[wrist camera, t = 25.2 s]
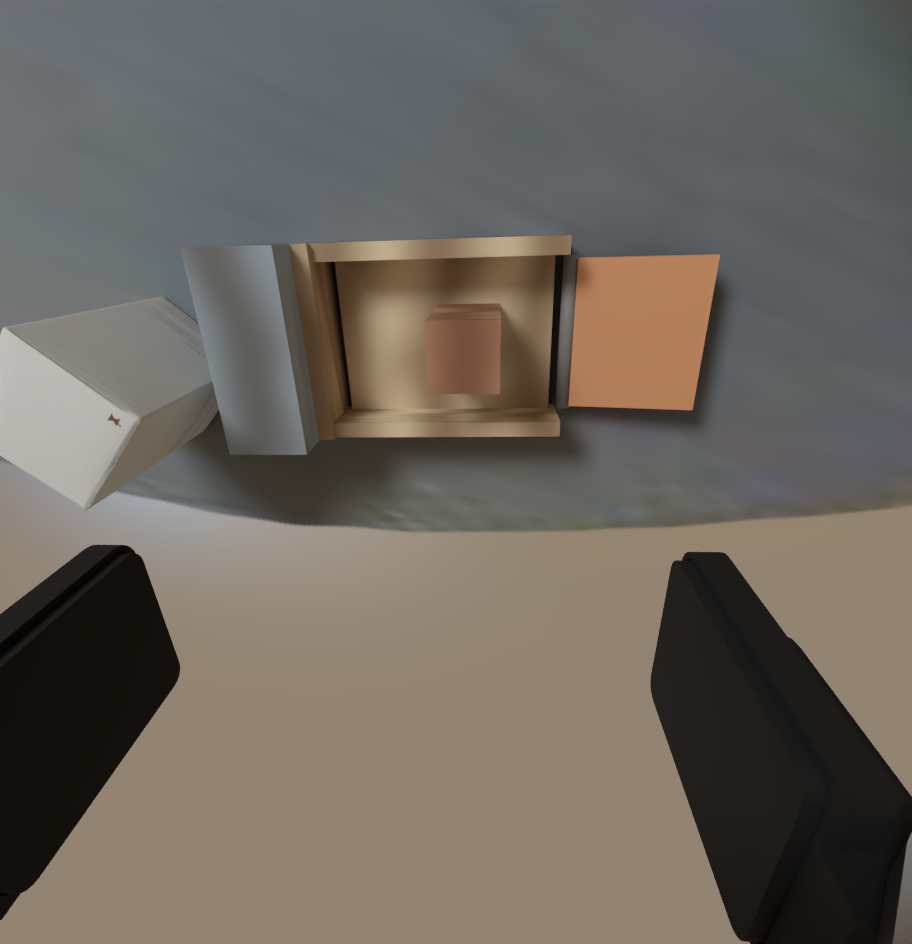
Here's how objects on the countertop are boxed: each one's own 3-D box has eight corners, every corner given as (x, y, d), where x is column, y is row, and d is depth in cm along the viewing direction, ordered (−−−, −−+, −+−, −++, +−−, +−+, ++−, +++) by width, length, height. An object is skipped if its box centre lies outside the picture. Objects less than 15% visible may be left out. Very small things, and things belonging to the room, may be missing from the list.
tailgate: (563, 254, 32) (716, 250, 30) (555, 404, 36) (688, 408, 34) (563, 255, 31) (720, 251, 29) (554, 408, 35) (691, 413, 33)
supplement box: (162, 292, 35) (0, 319, 23) (252, 364, 36) (143, 422, 25) (117, 370, 37) (-47, 429, 26) (204, 434, 39) (85, 515, 28)
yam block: (499, 303, 33) (500, 319, 26) (498, 364, 34) (499, 393, 28) (437, 304, 33) (424, 320, 27) (440, 365, 35) (428, 394, 28)
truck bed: (562, 234, 32) (580, 234, 25) (552, 416, 37) (565, 454, 30) (239, 245, 33) (180, 248, 27) (273, 418, 38) (230, 455, 32)
